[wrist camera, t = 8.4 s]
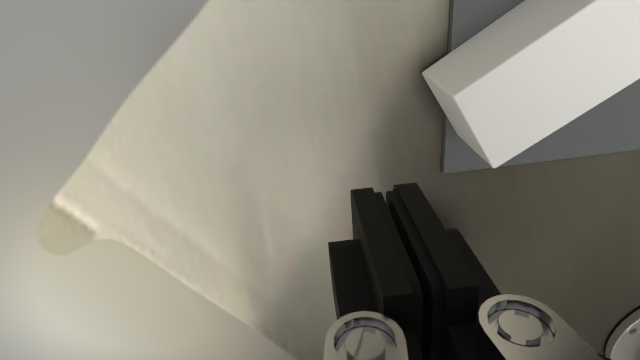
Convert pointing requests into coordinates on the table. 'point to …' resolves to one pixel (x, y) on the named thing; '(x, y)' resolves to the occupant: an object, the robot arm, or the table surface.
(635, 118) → the mat
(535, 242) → the table surface
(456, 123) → the milk
